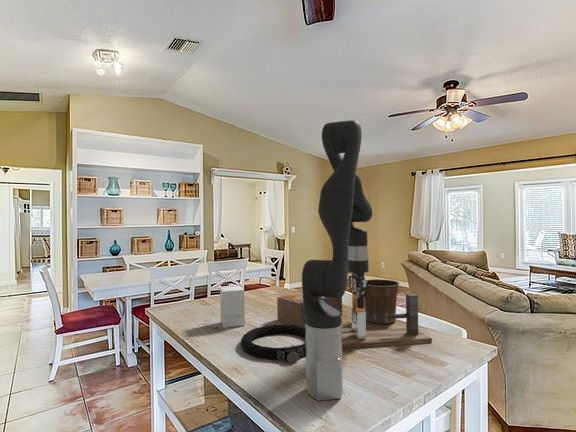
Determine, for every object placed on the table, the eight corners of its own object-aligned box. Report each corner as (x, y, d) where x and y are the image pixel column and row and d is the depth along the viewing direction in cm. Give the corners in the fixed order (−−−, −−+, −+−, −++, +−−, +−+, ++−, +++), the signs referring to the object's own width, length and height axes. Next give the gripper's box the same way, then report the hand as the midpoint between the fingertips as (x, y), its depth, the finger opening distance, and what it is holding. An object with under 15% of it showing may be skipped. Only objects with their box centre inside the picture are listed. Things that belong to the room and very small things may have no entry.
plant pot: (353, 317, 151) (352, 280, 151) (382, 313, 158) (382, 277, 158) (376, 328, 136) (375, 287, 136) (408, 323, 143) (407, 283, 143)
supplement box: (241, 319, 151) (240, 285, 151) (245, 325, 142) (244, 289, 142) (220, 322, 148) (219, 287, 148) (223, 328, 139) (222, 291, 139)
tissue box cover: (299, 328, 139) (299, 303, 139) (277, 320, 150) (277, 297, 150) (342, 315, 156) (341, 293, 156) (319, 309, 167) (319, 288, 167)
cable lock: (305, 320, 138) (335, 346, 109) (305, 329, 138) (335, 358, 109) (235, 326, 130) (247, 357, 102) (235, 336, 130) (248, 370, 101)
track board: (431, 342, 120) (431, 297, 120) (337, 349, 115) (336, 302, 115) (414, 331, 132) (413, 290, 132) (327, 337, 127) (327, 295, 127)
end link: (366, 338, 120) (365, 296, 120) (340, 340, 119) (339, 297, 119) (360, 333, 126) (359, 292, 126) (335, 334, 124) (334, 293, 125)
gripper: (375, 260, 116) (376, 311, 116) (360, 255, 130) (361, 301, 130) (354, 261, 115) (354, 312, 115) (341, 256, 129) (342, 302, 129)
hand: (358, 306), depth 123 cm, fingers closed on end link, 4 cm apart
